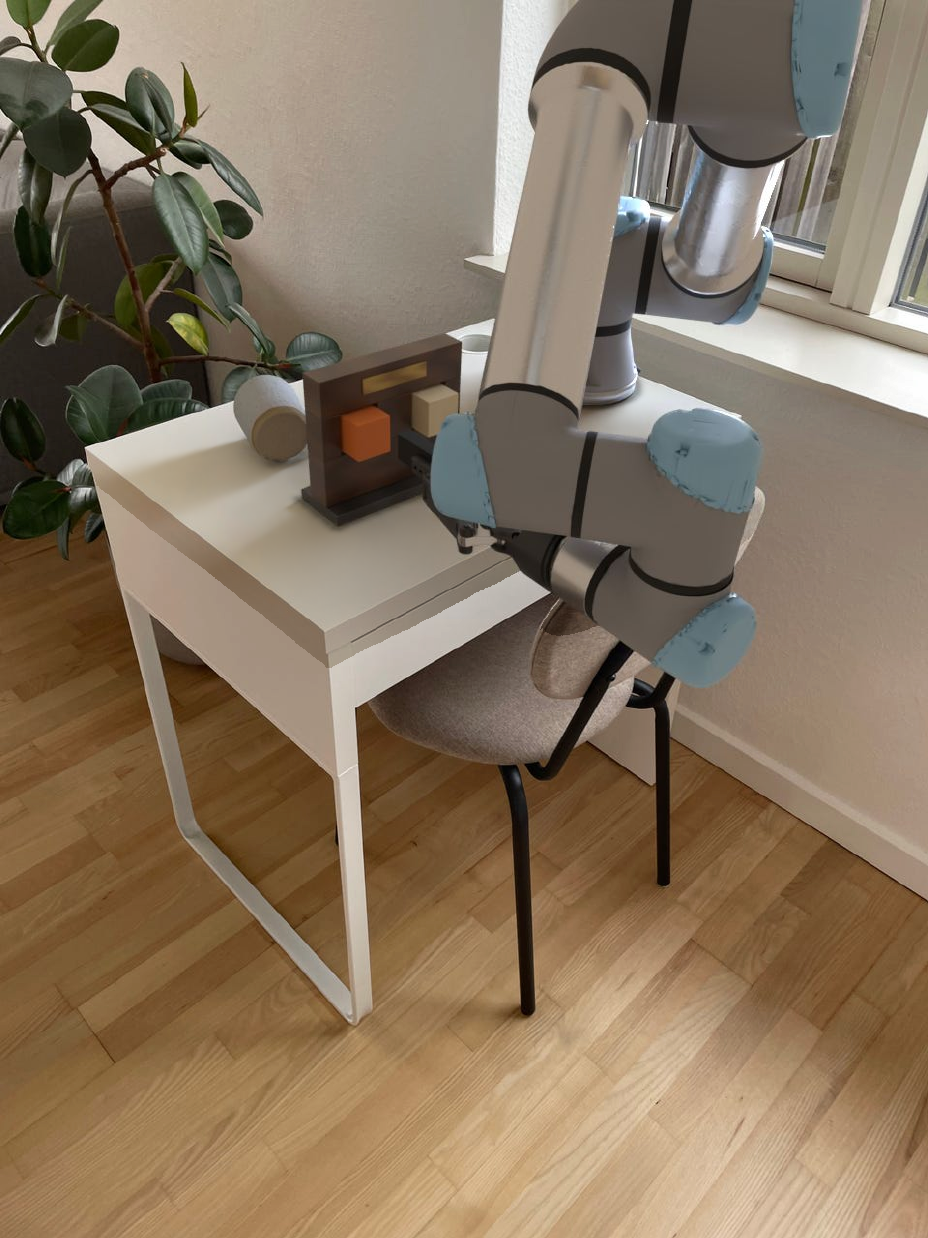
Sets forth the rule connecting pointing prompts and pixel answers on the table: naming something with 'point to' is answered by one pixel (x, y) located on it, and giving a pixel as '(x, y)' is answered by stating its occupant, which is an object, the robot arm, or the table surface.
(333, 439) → the brown wooden upright panel
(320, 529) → the table surface
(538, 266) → the robot arm
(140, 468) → the table surface
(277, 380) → the ceramic mug
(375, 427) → the orange key
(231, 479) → the table surface
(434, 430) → the beige key
